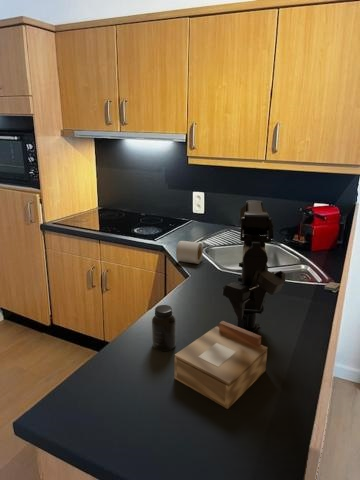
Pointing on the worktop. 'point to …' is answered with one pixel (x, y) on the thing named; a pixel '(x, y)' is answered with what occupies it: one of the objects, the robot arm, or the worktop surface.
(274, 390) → the worktop surface
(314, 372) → the worktop surface
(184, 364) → the mailer box
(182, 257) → the toilet paper
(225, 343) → the mailer lid
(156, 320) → the supplement bottle
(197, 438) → the worktop surface
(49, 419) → the worktop surface
